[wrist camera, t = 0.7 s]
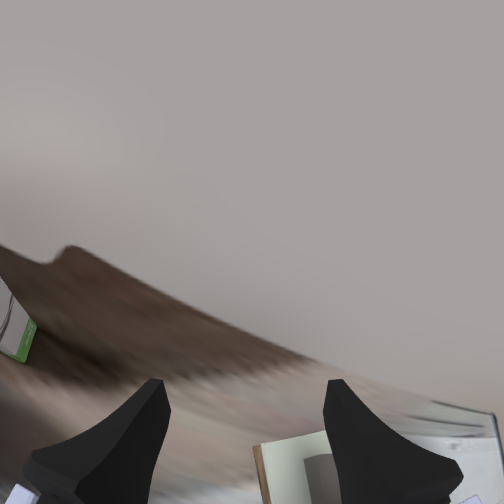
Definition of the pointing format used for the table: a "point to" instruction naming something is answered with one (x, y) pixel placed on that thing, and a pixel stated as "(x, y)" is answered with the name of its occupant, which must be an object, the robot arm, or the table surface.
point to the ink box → (14, 326)
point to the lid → (301, 470)
